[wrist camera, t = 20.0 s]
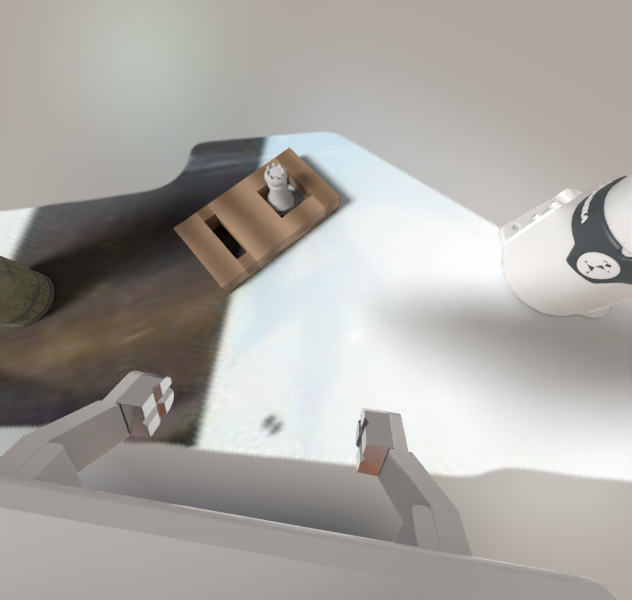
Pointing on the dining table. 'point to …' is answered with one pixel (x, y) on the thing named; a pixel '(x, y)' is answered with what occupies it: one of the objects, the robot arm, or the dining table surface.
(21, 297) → the thermos
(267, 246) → the block
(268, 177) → the rook chess piece
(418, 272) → the dining table surface
